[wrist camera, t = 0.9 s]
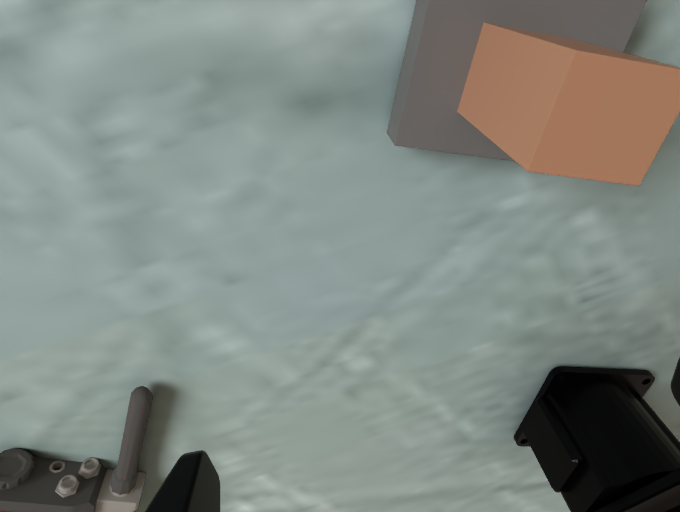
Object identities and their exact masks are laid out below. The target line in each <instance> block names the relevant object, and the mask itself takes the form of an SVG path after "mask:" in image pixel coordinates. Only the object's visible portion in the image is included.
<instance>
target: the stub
mask: <svg viewBox="0 0 680 512" xmlns="http://www.w3.org/2000/svg"><path fill="white" fill-rule="evenodd" d="M646 1H647V0H417V1H416V6H415V10H414V14H413V19H412V23H411V28H410V32H409V37H408V41H407V46H406V50H405V55H404V59H403V63H402V68H401V72H400V77H399V81H398V86H397V90H396V95H395V99H394V104H393V108H392V113H391V117H390V121H389V126H388V130H387V134H388V135H389V137H390V139H391V140H392V142H393V143H394V145H396V146H404V147H412V148H419V149H427V150H434V151H442V152H449V153H457V154H464V155H472V156H480V157H487V158H495V159H502V160H510V161H516V162H517V163H518V164H519V165H521V166H522V167H523V168H524V169H525V170H526V171H528V172H536V173H543V174H551V175H559V176H567V177H575V178H582V179H590V180H598V181H606V182H613V183H621V184H629V185H637V186H639V185H640V184H641V182H642V180H643V178H644V176H645V174H646V173H647V171H648V169H649V167H650V165H651V163H652V162H653V160H654V158H655V156H656V154H657V152H658V150H659V149H660V147H661V145H662V143H663V141H664V139H665V138H666V136H667V134H668V132H669V130H670V128H671V127H672V125H673V123H674V121H675V119H676V117H677V115H678V114H679V112H680V68H679V67H675V66H672V65H668V64H664V63H660V62H657V61H653V60H649V59H645V58H642V57H638V56H634V55H630V54H627V53H623V52H624V50H625V47H626V45H627V43H628V41H629V39H630V36H631V34H632V32H633V30H634V27H635V25H636V23H637V21H638V19H639V16H640V14H641V12H642V10H643V8H644V5H645V3H646Z"/></svg>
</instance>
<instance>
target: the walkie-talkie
mask: <svg viewBox="0 0 680 512" xmlns="http://www.w3.org/2000/svg"><path fill="white" fill-rule="evenodd" d="M152 400H153V395H152V393H151V391H150V390H149V389H148V388H146V387H144V386H140V387H137V388H136V389H135V390H134V391H133V392H132V393H131V398H130V403H129V408H128V413H127V419H126V424H125V429H124V434H123V440H122V445H121V450H120V455H119V461H118V465H117V466H116V467H115V469H114V470H112V469H106V468H105V467H104V466H103V465H102V464H99V461H98V460H97V459H96V458H88V459H86V460H85V461H84V462H74V461H64V460H55V459H45V458H36V457H33V456H32V455H31V454H30V453H29V452H26V451H25V450H23V449H9V450H5V451H3V452H2V453H0V512H134V511H135V510H136V509H137V508H138V506H139V502H140V498H141V494H142V490H143V486H144V482H145V478H146V473H140V472H138V468H137V465H138V460H139V456H140V452H141V447H142V443H143V439H144V435H145V430H146V426H147V422H148V417H149V413H150V409H151V404H152Z"/></svg>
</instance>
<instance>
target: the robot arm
mask: <svg viewBox="0 0 680 512" xmlns="http://www.w3.org/2000/svg"><path fill="white" fill-rule="evenodd" d="M654 380H655V377H654V376H653V375H652V374H651V373H650V372H649V371H647V370H628V369H605V368H583V367H556V368H554V369H553V370H551V371H550V373H549V374H548V376H547V378H546V380H545V382H544V383H543V385H542V387H541V389H540V391H539V392H538V394H537V396H536V398H535V399H534V401H533V403H532V405H531V407H530V408H529V410H528V412H527V414H526V415H525V417H524V419H523V421H522V423H521V424H520V426H519V428H518V430H517V431H516V433H515V435H514V440H515V442H516V444H517V445H518V446H531V448H532V450H533V452H534V454H535V456H536V458H537V460H538V462H539V464H540V466H541V467H542V469H543V471H544V473H545V475H546V477H547V479H548V481H549V483H550V485H551V487H552V488H553V489H554V491H555V492H561V494H562V496H563V498H564V500H565V502H566V503H567V505H568V507H569V509H570V511H571V512H680V442H679V441H678V440H677V439H676V437H675V436H674V435H673V434H672V433H671V431H670V430H669V429H668V428H667V427H666V425H665V424H664V423H663V422H662V420H661V419H660V418H659V417H658V416H657V414H656V413H655V412H654V411H653V410H652V408H651V407H650V406H649V405H648V404H647V402H646V401H645V400H644V399H643V398H642V397H643V396H644V394H645V393H646V392H647V390H648V389H649V388H650V386H651V385H652V383H653V382H654ZM671 390H672V393H673V396H674V398H675V399H676V401H677V403H678V404H679V406H680V358H679V360H678V363H677V366H676V369H675V372H674V375H673V378H672V381H671ZM145 512H220V480H219V476H218V474H217V472H216V470H215V468H214V466H213V464H212V462H211V460H210V458H209V457H208V455H207V453H206V452H205V451H203V450H200V451H195V452H190V453H186V454H183V455H182V456H181V457H180V458H179V459H178V461H177V462H176V464H175V465H174V467H173V469H172V470H171V472H170V473H169V475H168V476H167V478H166V479H165V481H164V483H163V484H162V486H161V487H160V489H159V490H158V492H157V493H156V495H155V497H154V498H153V500H152V501H151V503H150V504H149V506H148V508H147V509H146V511H145Z"/></svg>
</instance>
